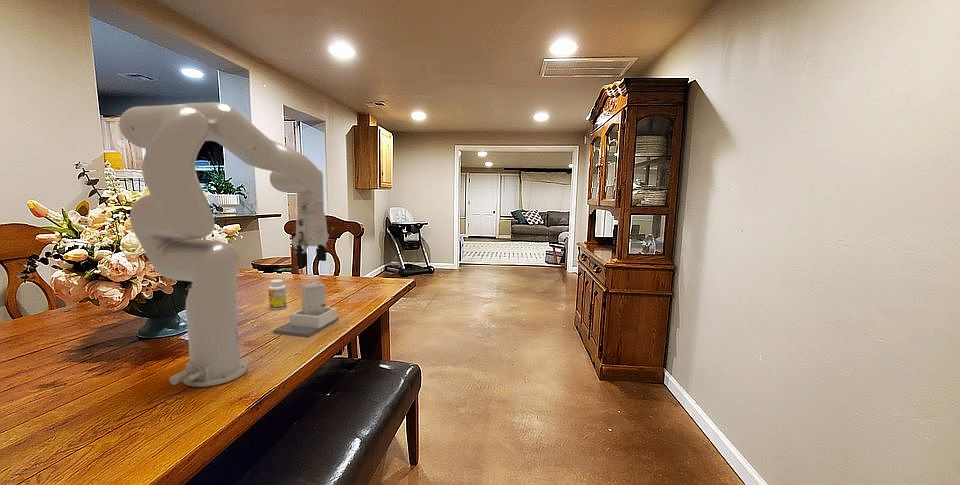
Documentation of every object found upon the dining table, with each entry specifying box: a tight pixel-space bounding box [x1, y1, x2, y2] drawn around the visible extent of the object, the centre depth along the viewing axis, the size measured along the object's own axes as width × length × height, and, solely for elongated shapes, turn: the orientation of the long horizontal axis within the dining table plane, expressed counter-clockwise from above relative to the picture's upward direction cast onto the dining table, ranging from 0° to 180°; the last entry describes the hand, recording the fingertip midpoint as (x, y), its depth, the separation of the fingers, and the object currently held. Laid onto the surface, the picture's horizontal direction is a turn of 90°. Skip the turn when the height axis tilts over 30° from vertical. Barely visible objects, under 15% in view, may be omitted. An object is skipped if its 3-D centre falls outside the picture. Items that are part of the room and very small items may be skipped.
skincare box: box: [301, 282, 326, 316], centre depth 126 cm, size 6×4×12 cm
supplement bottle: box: [268, 279, 287, 311], centre depth 142 cm, size 6×6×10 cm
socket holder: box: [272, 306, 340, 338], centre depth 124 cm, size 16×12×4 cm
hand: (312, 263), depth 124 cm, fingers open, 9 cm apart
